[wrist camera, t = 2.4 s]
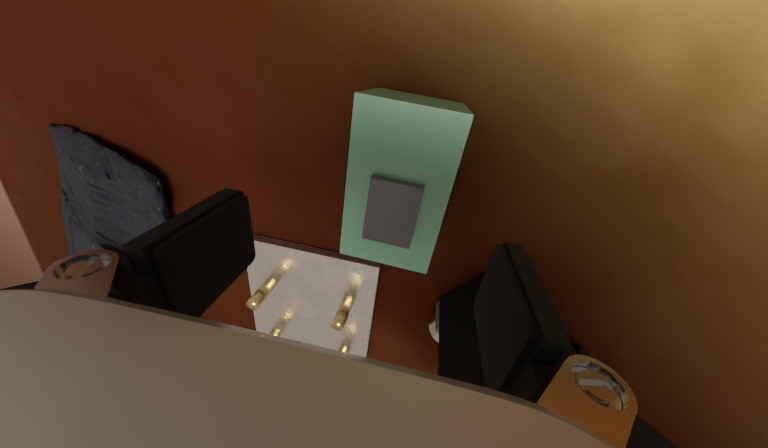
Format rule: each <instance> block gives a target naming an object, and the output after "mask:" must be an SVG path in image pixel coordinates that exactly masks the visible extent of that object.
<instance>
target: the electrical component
mask: <svg viewBox="0 0 768 448" xmlns="http://www.w3.org/2000/svg"><path fill="white" fill-rule="evenodd" d="M485 273H486V271H485V272H484V273H482V274H480V275H478V276H476V277H475V278H473V279H471V280H469V281H467V282H466V283H464V284H462V285H460V286H458V287H457V288H455V289H453V290H451V291H449V292H448V293H446V294H444V295H442V296H440V297H439V301H438V302H437V303H436V319H435V320H433V321H432V322H431V323H430V324H429V330H430V332H431V335H432V337H433V338H434V339H435V340H436V341H437V342H439V368H438V375H440V376H444V377H447V378H451V379H455V380H459V381H463V382H467V383H470V384H474V385H478V386H482V387H485V382H484V375H483V369H482V362H481V356H480V349H479V342H478V336H477V329H476V322H475V316H474V300H475V298H476V295H477V293H478V290H479V288H480V285H481V283H482V280H483V278H484V275H485ZM575 352H576V354H578V355H585V356H589V355H588V354H587V353H586V352H585V351H584V350H583V349H582V348H581V347H580V346H578V347H575ZM589 357H590V356H589Z"/></svg>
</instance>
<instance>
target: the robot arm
mask: <svg viewBox="0 0 768 448" xmlns="http://www.w3.org/2000/svg"><path fill="white" fill-rule="evenodd" d="M122 246H123V249H124V251H125V253H126V255H125V256H124V257H122V258H120V257H119V255H118V254H117V253H116V252H114V251H111V250H90V251H85V252H81V253H77V254H74V255H71V256H68V257H66V258H64V259H61V260H59V261H57V262H56V263H54V264H53V265H51V266H50V267H49V268H48V269H47V270H46V271H45V272H44V274H43V275H42V277H41V278H40V280H39V281H37V282H32V283H27V284H23V285H18V286H13V287H9V288H4V289H0V448H678V447H677V446H675V445H674V444H673V443H672V442H670V441H669V440H668V439H666V438H665V437H664V436H663V435H661V434H660V433H659V432H658V431H656V430H655V429H654V428H653V427H651V426H650V425H649V424H647V423H646V422H645V421H644V420H642V419H641V418H640V417H639V416H637V415H636V413H637V401H636V398H635V396H634V393H633V392H632V390H631V389H630V387H629V386H628V384H627V383H626V382H625V381H624V380H623V379H622V378H621V377H620V376H619V375H618V374H617V373H616V372H615V371H613V370H612V369H611V368H610V367H608V366H607V365H605V364H603V363H602V362H600V361H598V360H596V359H594V358H591V357H589V356H585V355H578V354H576V352H575V350H574V348H573V346H572V343H571V341H570V339H569V337H568V335H567V333H566V331H565V329H564V327H563V325H562V323H561V321H560V319H559V317H558V315H557V313H556V311H555V309H554V307H553V305H552V303H551V301H550V299H549V297H548V295H547V293H546V291H545V289H544V288H543V286H542V284H541V282H540V280H539V278H538V276H537V274H536V272H535V270H534V268H533V266H532V264H531V262H530V260H529V258H528V256H527V254H526V252H525V249H524V247H523V246H522V245H519V244H513V243H508V242H504V243H503V244H502V245H497V246H496V248H495V250H494V253H493V255H492V258H491V260H490V263H489V265H488V268H487V270H486V273H485V275H484V278H483V280H482V283H481V285H480V288H479V290H478V293H477V295H476V298H475V300H474V316H475V322H476V329H477V336H478V342H479V349H480V356H481V362H482V369H483V375H484V382H485V387H482V386H478V385H474V384H470V383H467V382H463V381H459V380H455V379H451V378H447V377H444V376H440V375H436V374H432V373H428V372H424V371H420V370H416V369H412V368H408V367H403V366H399V365H395V364H391V363H387V362H383V361H379V360H375V359H371V358H367V357H362V356H358V355H354V354H350V353H346V352H342V351H338V350H334V349H329V348H325V347H321V346H317V345H313V344H308V343H304V342H300V341H296V340H292V339H287V338H283V337H279V336H275V335H270V334H266V333H262V332H258V331H254V330H249V329H245V328H241V327H237V326H232V325H228V324H224V323H219V322H215V321H211V320H206V319H202V318H199V317H200V316H201V315H202V314H203V313H204V312H205V311H206V310H207V309H208V308H209V307H210V306H211V304H212V303H213V302H214V301H215V300H216V299H217V298H218V297H219V296H220V295H221V294H222V293H223V292H224V291H225V290H226V289H227V288H228V287H229V286H230V285H231V284H232V283H233V282H234V281H235V280H236V279H237V278H238V277H239V276H240V275H241V274H242V272H243V271H244V270H245V269H246V268H247V267H248V266H249V265H250V264H251V263H252V262H253V261H254V259H255V255H256V252H255V245H254V238H253V231H252V223H251V216H250V209H249V202H248V198H247V197H246V196H245V195H244V193H243V192H242V191H238V190H233V189H227V188H225V189H223V190H221V191H219V192H217V193H216V194H214V195H212V196H210V197H208V198H206V199H205V200H203V201H201V202H199V203H197V204H196V205H194V206H192V207H190V208H188V209H187V210H185V211H183V212H181V213H179V214H177V215H176V216H174V217H172V218H170V219H168V220H167V221H165V222H163V223H161V224H159V225H158V226H156V227H154V228H152V229H150V230H148V231H147V232H145V233H143V234H141V235H139V236H138V237H136V238H134V239H132V240H130V241H129V242H127V243H125V244H123V245H122Z"/></svg>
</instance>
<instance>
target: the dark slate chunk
mask: <svg viewBox="0 0 768 448" xmlns="http://www.w3.org/2000/svg"><path fill="white" fill-rule="evenodd" d="M48 131H49V133H50V135H51V137H52V140H53V145H54V148H55V153H56V156H57V158H58V166H59V173H60V179H61V187H62V188H61V203H62V211H63V215H62V218H63V222H64V232H65V235H66V239H67V241H66V242H67V246H68V249H69V254H70V256H71V255H74V254H77V253H81V252H85V251H90V250H111V251H114V252H116V253H117V254H118V255H119V257H120V258H122V257H124V256H125V255H126V253H125V251H124V249H123V246H122V245H123V244H125V243H127V242H129V241H130V240H132V239H134V238H136V237H138V236H139V235H141V234H143V233H145V232H147V231H148V230H150V229H152V228H154V227H156V226H158V225H159V224H161V223H163V222H165V221H167V220H168V219H169V216H170V212H169V209H168V207H167V205H166V199H165V197H164V194H163V190H162V186H161V182H160V180H159V178H158V177H156V176H155V175H153V174H151V173H149V172H147V171H146V170H144V169H142V168H141V167H139V166H137V165H136V164H134V163H133V162H131V161H130V160H128V159H126V158H124V157H122V156H121V155H119V154H118V153H117V152H114V151H112V150H110V149H108V148H106V147H104V146H103V145H102V144H101V143H100V142H98V141H97V140H95V139H94V138H92V137H90V136H87V135H85V134H83V133H81V132H78V131H77V130H76V129H74V128H72V127H70V126H63V125H59V126H55V125H54V124H52V123H50V126H49V129H48Z"/></svg>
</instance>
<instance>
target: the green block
mask: <svg viewBox="0 0 768 448" xmlns="http://www.w3.org/2000/svg"><path fill="white" fill-rule="evenodd" d="M473 117H474V114H473V113H472V112H471V111H470V110H469V108H468V107H467V106H466V105H465V104H464V103H461V102H455V101H450V100H445V99H439V98H434V97H429V96H423V95H418V94H413V93H407V92H402V91H397V90H391V89H386V88H375V89H370V90H364V91H358V92H354V103H353V114H352V124H351V135H350V146H349V156H348V167H347V178H346V188H345V199H344V210H343V220H342V231H341V241H340V252H339V253H341V254H345V255H349V256H354V257H358V258H362V259H366V260H370V261H374V262H378V263H382V264H387V265H391V266H395V267H399V268H403V269H407V270H411V271H415V272H420V273H424V274H427V270H428V267H429V264H430V260H431V257H432V254H433V250H434V247H435V244H436V240H437V237H438V234H439V230H440V227H441V224H442V220H443V217H444V214H445V210H446V207H447V204H448V200H449V197H450V194H451V191H452V187H453V184H454V181H455V177H456V174H457V171H458V167H459V164H460V161H461V157H462V154H463V151H464V147H465V144H466V141H467V137H468V134H469V131H470V127H471V124H472V121H473Z"/></svg>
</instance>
